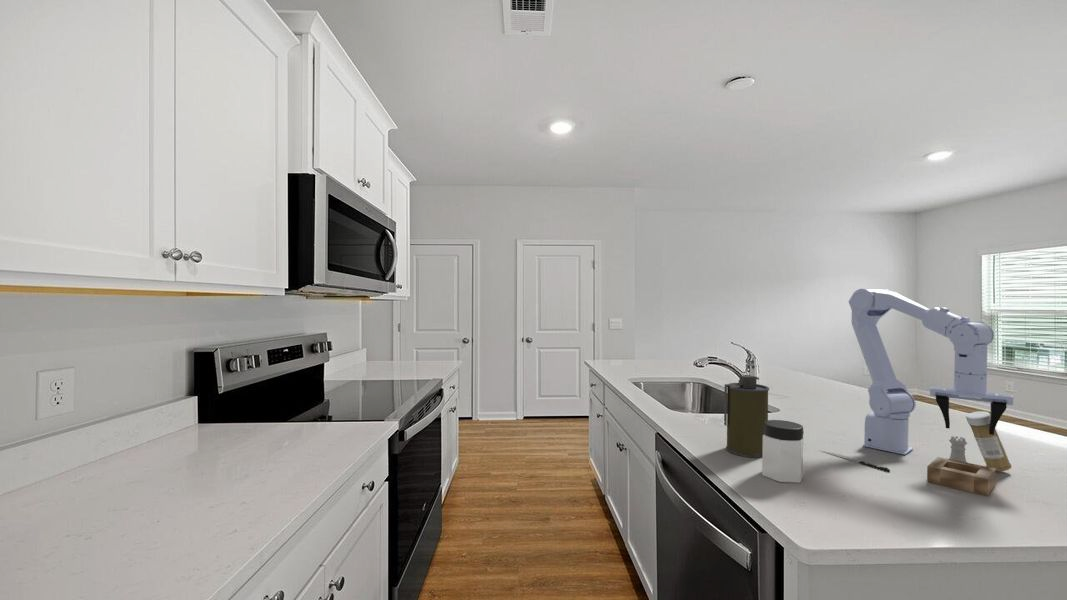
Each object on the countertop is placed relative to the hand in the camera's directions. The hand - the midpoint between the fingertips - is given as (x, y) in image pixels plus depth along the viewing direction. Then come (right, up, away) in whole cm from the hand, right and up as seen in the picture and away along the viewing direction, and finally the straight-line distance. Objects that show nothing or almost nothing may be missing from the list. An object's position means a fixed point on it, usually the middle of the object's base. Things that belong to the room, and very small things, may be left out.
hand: (969, 430), depth 115 cm
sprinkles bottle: (+8, -9, +1) cm, 12 cm away
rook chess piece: (-2, -10, +1) cm, 10 cm away
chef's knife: (-22, -10, +9) cm, 26 cm away
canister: (-46, -10, +15) cm, 50 cm away
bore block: (-8, -10, -7) cm, 14 cm away
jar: (-46, -10, -3) cm, 47 cm away
